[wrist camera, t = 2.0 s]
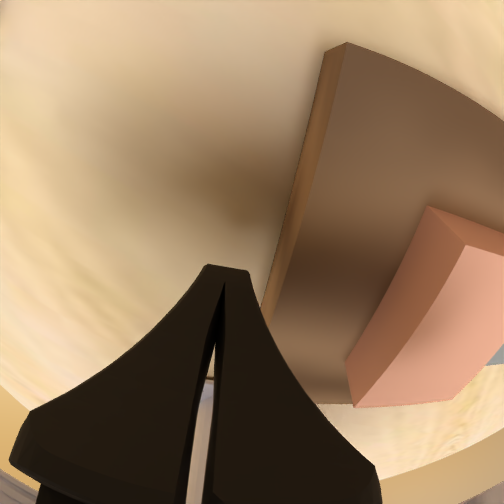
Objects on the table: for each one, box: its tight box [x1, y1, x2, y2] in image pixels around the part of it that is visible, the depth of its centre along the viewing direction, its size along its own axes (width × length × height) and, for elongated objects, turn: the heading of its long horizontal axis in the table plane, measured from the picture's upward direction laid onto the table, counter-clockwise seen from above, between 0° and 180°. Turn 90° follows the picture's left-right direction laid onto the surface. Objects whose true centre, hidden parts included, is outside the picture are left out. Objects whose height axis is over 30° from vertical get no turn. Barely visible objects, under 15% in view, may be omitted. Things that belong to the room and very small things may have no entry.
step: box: [260, 42, 504, 404], centre depth 12 cm, size 16×14×3 cm
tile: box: [344, 206, 504, 408], centre depth 10 cm, size 8×6×2 cm
